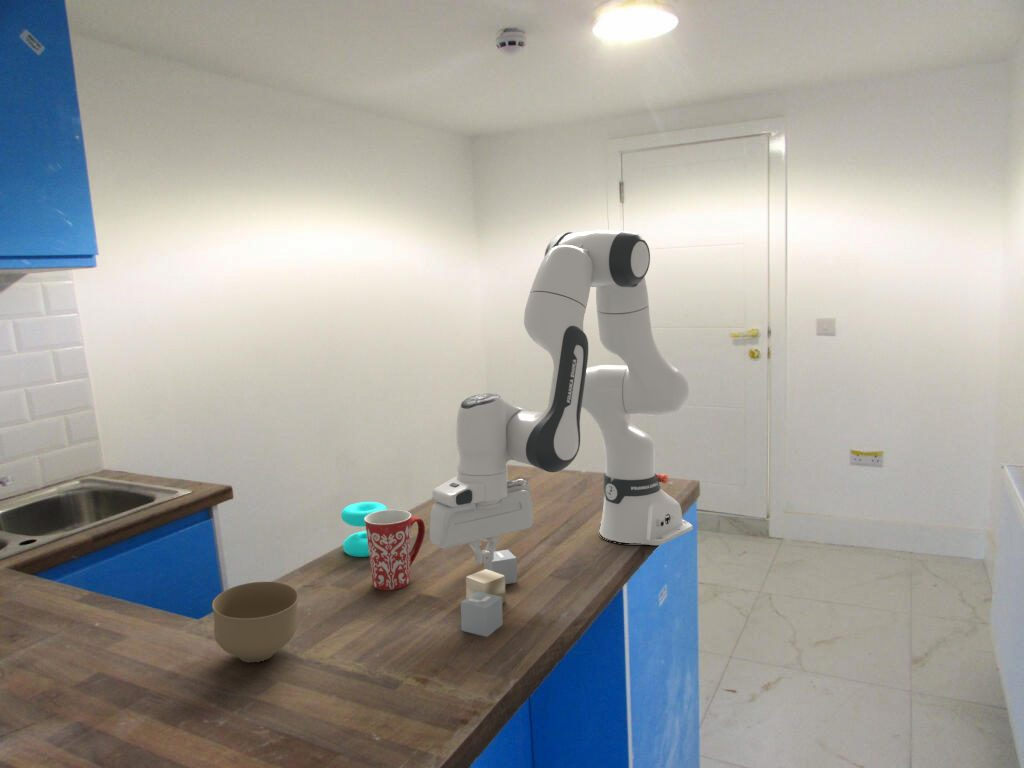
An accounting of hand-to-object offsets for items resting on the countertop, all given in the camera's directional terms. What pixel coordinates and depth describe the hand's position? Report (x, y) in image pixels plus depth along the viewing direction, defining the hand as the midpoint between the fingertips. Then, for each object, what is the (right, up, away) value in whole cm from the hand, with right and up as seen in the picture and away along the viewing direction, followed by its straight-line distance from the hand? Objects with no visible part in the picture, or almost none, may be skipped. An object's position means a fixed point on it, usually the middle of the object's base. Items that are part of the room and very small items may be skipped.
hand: (484, 561), depth 130 cm
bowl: (-34, -11, -17) cm, 40 cm away
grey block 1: (0, -9, -8) cm, 12 cm away
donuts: (-27, -5, +30) cm, 41 cm away
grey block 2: (+3, -7, +12) cm, 14 cm away
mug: (-17, -7, +12) cm, 22 cm away
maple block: (0, -8, +1) cm, 8 cm away
